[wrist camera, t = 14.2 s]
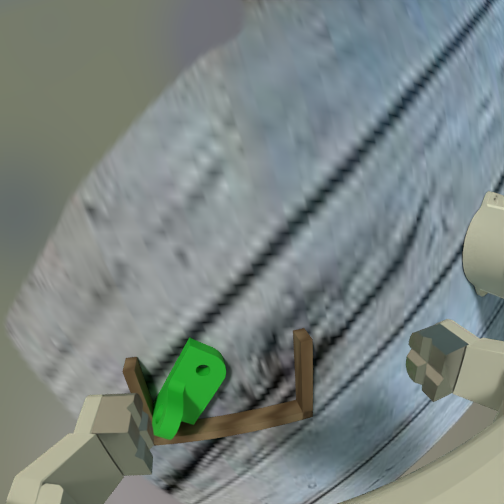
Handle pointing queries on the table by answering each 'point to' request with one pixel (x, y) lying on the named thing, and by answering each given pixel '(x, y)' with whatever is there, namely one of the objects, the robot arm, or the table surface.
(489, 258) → the robot arm
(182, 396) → the mechanical part
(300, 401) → the walnut bay
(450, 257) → the table surface
